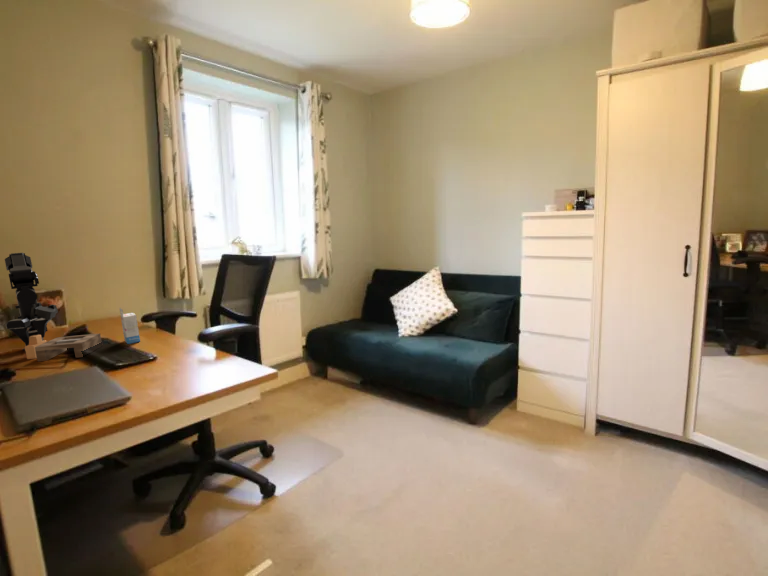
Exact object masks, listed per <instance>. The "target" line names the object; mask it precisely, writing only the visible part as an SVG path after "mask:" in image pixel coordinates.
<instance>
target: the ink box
mask: <svg viewBox="0 0 768 576" xmlns="http://www.w3.org/2000/svg"><path fill="white" fill-rule="evenodd" d="M119 313H120V321H121V327H122V334H123V337H124V342H125V343H126V344H127V345H131V344H136V343H140V342H141V337H140V332H139V331H140V330H139V326H138V319H137V314H135V313H134V312H128V313H124V310H123V308H121V307H119Z"/></svg>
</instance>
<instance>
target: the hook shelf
mask: <svg viewBox="0 0 768 576" xmlns="http://www.w3.org/2000/svg"><path fill="white" fill-rule="evenodd" d="M101 342H102V337H101V333H91V334H90V333H89V334H80V335H70V336H60V337H55V338H53V339H51V340H47V342H46V343H44V344H41V345H39V346H37V347H35V351H36V356H37V358H36V359H37V362H44V361H45V362H46V361H49V360H51V359H52V358H55V357H57V356H58V355H60V354H63V353H65V352H67V351H68V350H67V348H68V349H72V348H73V351H74V355H75V358H76V359H77V358H84V357H83V354H82V352H81V351H84V350H86V349H88V348H90V347H93V346H95V345H97V344H99V343H101ZM102 343H103V342H102Z"/></svg>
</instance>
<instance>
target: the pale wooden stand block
mask: <svg viewBox="0 0 768 576" xmlns="http://www.w3.org/2000/svg"><path fill="white" fill-rule="evenodd" d="M46 342H48V340H46V339H44V340H43V341H42V337H41V335H32V336H30V337H29V345H28V346H26V345H25V346H24V348H25V350H24V351H25V354H26V355H25V356H26V360H34V359H37V356H36V351H35V347H37V346H39V345H41V344H44V343H46Z"/></svg>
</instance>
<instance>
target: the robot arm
mask: <svg viewBox="0 0 768 576" xmlns="http://www.w3.org/2000/svg"><path fill="white" fill-rule="evenodd" d="M4 264H5V268H6V271H9V273H8V278H9V283H10V288H11V290H15V296H16V301H17V302H16V303H17V305H15V307H14V308H15V309H16V310H17V309H18V311H19V315H18V316H17V318H16V319H15V318H13V319H11V320H8V321H7V322H6V323H5V327H6V330H9V331H11V332H13V333H14V334H15V335H16V336H17V337H18V338H19V339H20V340H21V341H22V342H23V343H24V344H25V346H28V345H29V337H30V336H32V335H41V337H42V341H43V340H45V339H44V338H45V336H46V333H47V332H48V331H49V330H48V327H47V326H48V323H49V322H50V321H51V320H52V319H54V318H56V314H58V313H59V310H58V307H57V305H56V304H50V305H48V306H42V303H41V302H39V301H38V295H37V293H36V289H35V288H34V287H38V285H39V284H40V282H39V277H38V274H37V273H36V271H34V270H33V263H32V258H31V257H30V256H29V255H26V252H14V253H13V252H12V253H9V254H8V256H7V257H5V258H4ZM22 351H25V347H24V348H22Z"/></svg>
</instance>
